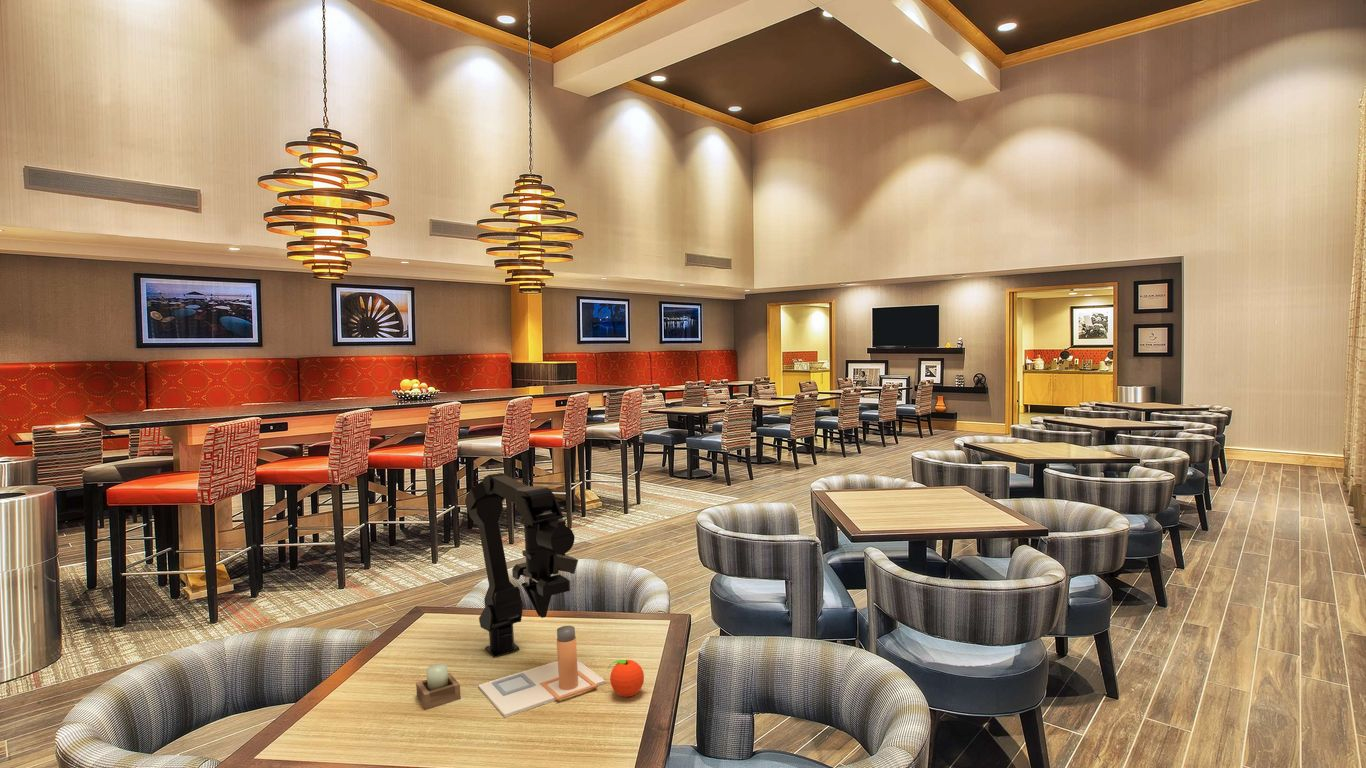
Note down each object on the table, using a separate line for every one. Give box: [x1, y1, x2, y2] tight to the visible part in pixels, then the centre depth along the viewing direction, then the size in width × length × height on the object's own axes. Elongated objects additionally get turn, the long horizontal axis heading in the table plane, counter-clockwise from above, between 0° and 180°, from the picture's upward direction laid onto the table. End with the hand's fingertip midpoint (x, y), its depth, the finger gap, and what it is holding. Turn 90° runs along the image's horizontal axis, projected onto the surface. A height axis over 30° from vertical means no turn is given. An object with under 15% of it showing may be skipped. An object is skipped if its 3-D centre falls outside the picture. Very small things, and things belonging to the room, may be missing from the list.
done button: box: [426, 663, 448, 691], centre depth 142 cm, size 4×4×4 cm
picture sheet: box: [477, 659, 606, 718], centre depth 144 cm, size 18×22×1 cm
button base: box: [415, 672, 461, 710], centre depth 142 cm, size 7×7×3 cm
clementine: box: [607, 659, 645, 698], centre depth 139 cm, size 8×7×7 cm
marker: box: [556, 625, 578, 690], centre depth 143 cm, size 4×4×12 cm
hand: (542, 616), depth 150 cm, fingers closed
